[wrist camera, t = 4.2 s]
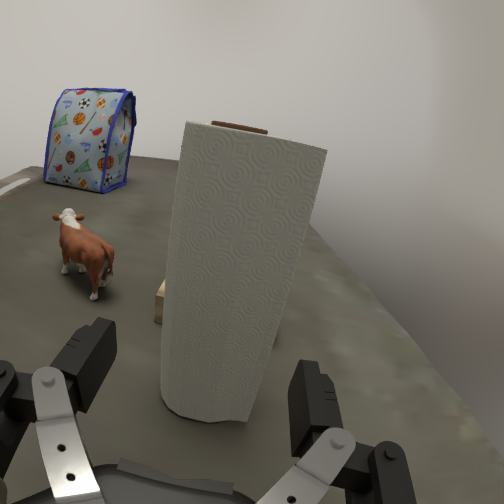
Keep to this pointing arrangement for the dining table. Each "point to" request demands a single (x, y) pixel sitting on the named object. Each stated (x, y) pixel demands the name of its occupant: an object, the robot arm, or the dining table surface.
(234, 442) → the dining table surface
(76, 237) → the bull figurine
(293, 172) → the paper towel roll
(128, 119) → the lunch bag
